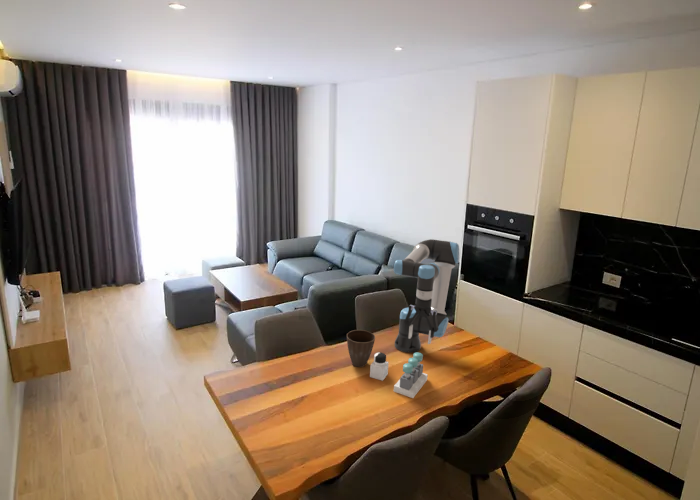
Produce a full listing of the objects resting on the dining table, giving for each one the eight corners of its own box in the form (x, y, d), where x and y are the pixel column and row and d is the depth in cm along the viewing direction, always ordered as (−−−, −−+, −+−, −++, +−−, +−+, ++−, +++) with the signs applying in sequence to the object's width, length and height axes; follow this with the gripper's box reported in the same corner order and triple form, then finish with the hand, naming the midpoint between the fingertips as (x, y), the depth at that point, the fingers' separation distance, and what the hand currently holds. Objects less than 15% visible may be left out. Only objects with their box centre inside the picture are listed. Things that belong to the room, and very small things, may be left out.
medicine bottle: (387, 374, 220) (389, 353, 217) (382, 381, 214) (384, 359, 211) (374, 370, 223) (376, 349, 220) (369, 377, 217) (371, 355, 214)
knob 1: (400, 380, 203) (401, 366, 201) (404, 376, 207) (405, 362, 205) (409, 384, 201) (410, 369, 199) (413, 379, 205) (414, 365, 203)
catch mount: (393, 391, 206) (394, 376, 203) (408, 373, 222) (410, 359, 220) (413, 398, 201) (414, 383, 199) (427, 379, 217) (428, 365, 215)
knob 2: (405, 374, 209) (407, 360, 207) (409, 370, 213) (410, 356, 211) (414, 377, 207) (416, 363, 205) (418, 373, 210) (419, 359, 209)
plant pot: (352, 354, 239) (354, 327, 235) (377, 361, 233) (379, 333, 228) (340, 366, 226) (341, 338, 222) (366, 373, 220) (368, 345, 215)
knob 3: (410, 369, 214) (412, 355, 212) (414, 365, 218) (415, 351, 216) (419, 371, 212) (420, 357, 210) (422, 367, 216) (424, 354, 214)
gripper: (399, 294, 207) (395, 337, 213) (443, 305, 197) (438, 349, 203) (405, 290, 214) (401, 331, 219) (448, 300, 203) (443, 343, 209)
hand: (419, 340), depth 211 cm, fingers open, 9 cm apart
